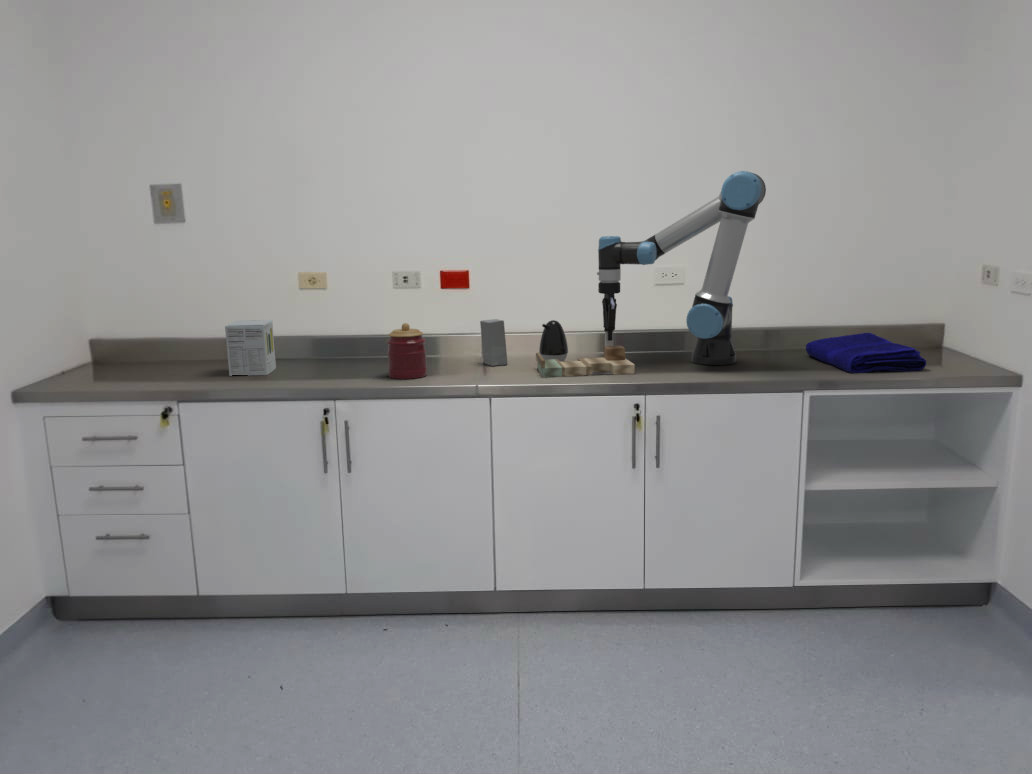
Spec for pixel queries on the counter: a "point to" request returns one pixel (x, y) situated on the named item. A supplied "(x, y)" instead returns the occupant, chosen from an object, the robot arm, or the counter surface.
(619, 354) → the walnut block
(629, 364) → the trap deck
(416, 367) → the canister
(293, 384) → the counter surface
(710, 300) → the robot arm
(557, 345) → the pump dispenser
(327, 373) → the counter surface
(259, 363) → the supplement box
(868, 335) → the towel
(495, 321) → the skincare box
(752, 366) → the counter surface
